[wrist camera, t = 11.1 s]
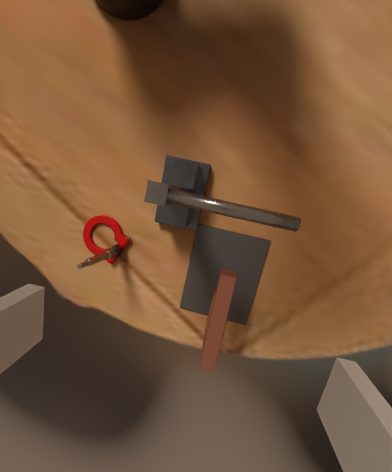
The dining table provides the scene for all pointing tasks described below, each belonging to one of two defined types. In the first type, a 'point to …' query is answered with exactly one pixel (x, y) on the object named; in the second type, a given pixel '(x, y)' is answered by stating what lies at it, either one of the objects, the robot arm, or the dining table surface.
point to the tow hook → (101, 254)
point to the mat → (227, 258)
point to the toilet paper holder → (201, 199)
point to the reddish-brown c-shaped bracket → (217, 319)
